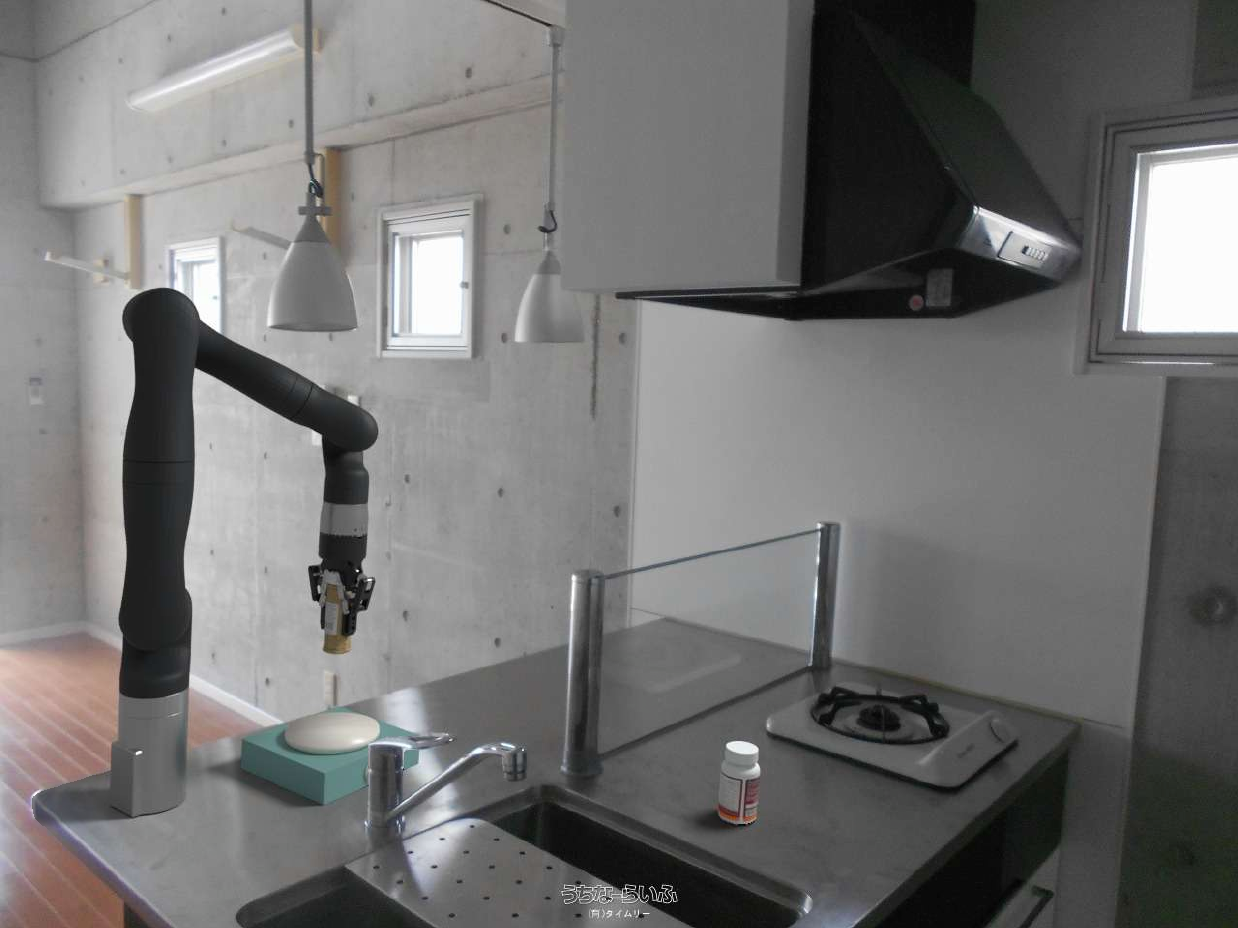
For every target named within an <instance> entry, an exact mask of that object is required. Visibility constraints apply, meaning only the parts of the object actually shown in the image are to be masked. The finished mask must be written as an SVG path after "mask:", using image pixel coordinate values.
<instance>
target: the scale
mask: <svg viewBox="0 0 1238 928" xmlns="http://www.w3.org/2000/svg"><path fill="white" fill-rule="evenodd" d="M334 712H344V713H355V714H360V715H364V716H366V715H365V714H361V713H359V712H356V711H353V710H351V709H349V708H345V707H341V706H340V705H339V706H336V707H334V708H333V707H332V708H330V709H327V710H324V711H321V712H318V713H317V714H322V713H334ZM369 717H370V716H369ZM370 718H372V719H374V720H375V721H377V722H378V723H379V726H380V734H379V738H378V739H377V740H379V739H382V738H386V737H399V736H420V737H421V735H420V734H418V733H415V732H412V731H410V730H407V729H404V728H402V727H399V726H396V725H393V724H390V723H387V722H386V721H385V722H384V721H382V720H379V719H376V718H373V717H370ZM292 722H293V721H291V722H288V723H285V724H281V725H279V726H276V727H274V728H270V729H267V730H264V731H261V732H258V733H254V734H253V735H249V736H246V737H243V738H241V748H240V749H241V753H240V754H241V755H240V769H241V770H243V771H245V772H248V773H250V774H252V775H254V776H257V777H259V778H261V779H264V780H266V781H267V782H268V781H269V782H270V783H272V784H275V785H276V786H279V787H281V788H284V789H286V790H288V791H290V792H293V793H295V794H298V795H300V796H301V797H304V798H306V799H308V800H311V801H314V802H315V803H317V804H320V805H322V806H325V805H327V804H330V803H332V802H334V801H336V800H339V799H341V798H343V797H345V796H348V795H350V794H352V793H354V792H358V791H359V790H362V789H363V787H364V786H366V787H368V786H367V774H368V746H367V747H365V748H363V749H360V750H356V751H352V752H347V753H340V754H312V753H305V752H301V751H298V750H295V749H293V748H291V747H290V746H288V745H287V744H286V742H285V729H286V728H287V726H288V725H289V724H291V723H292ZM419 756H420V749H419V750H406V751H405V752H404V769H405V770H407V769H410V768H412V767H414V766H416V765H419V760H420V759H419V758H420V757H419ZM361 788H362V789H361ZM364 788H365V787H364Z"/></svg>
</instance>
